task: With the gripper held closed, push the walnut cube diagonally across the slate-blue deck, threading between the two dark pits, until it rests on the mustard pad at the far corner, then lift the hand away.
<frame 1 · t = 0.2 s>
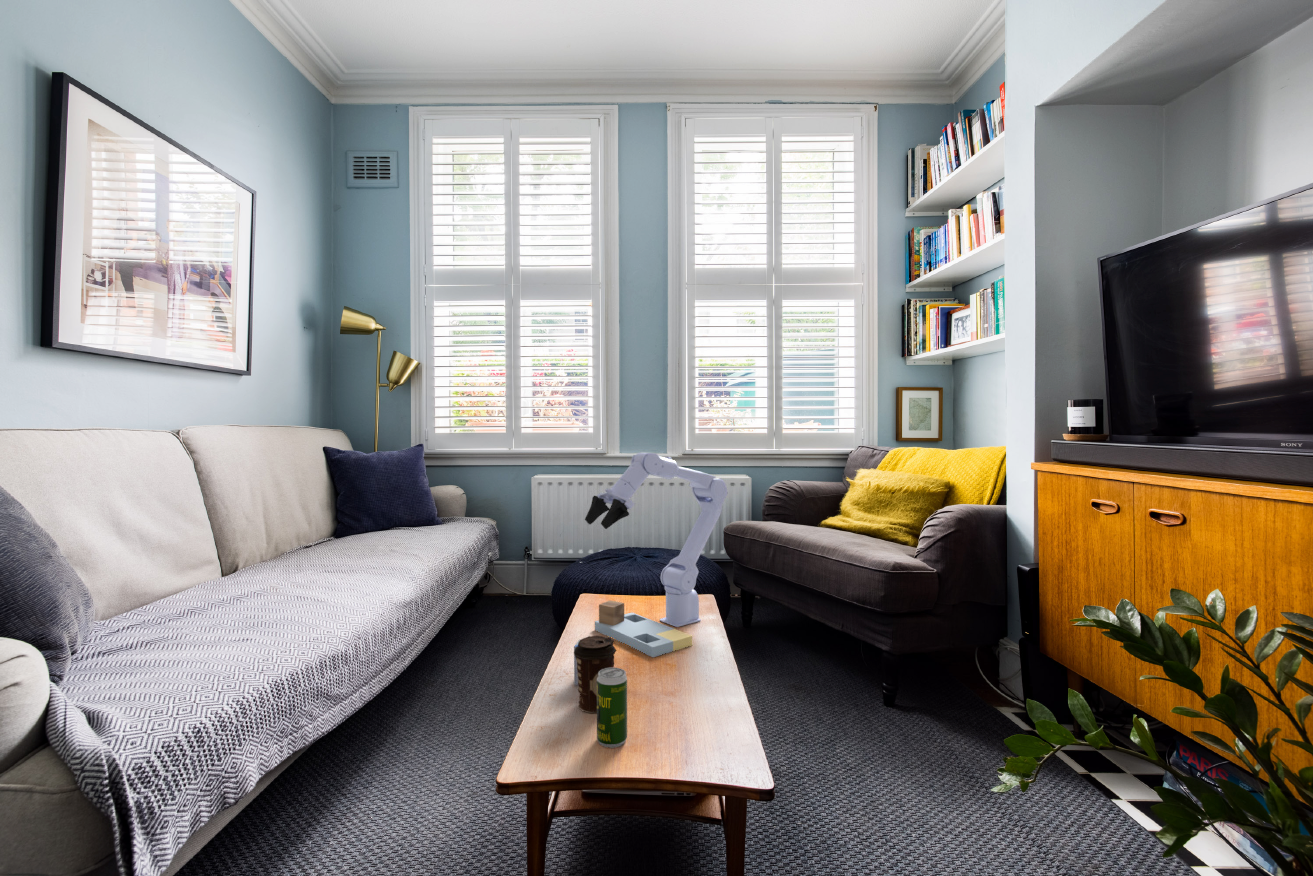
hand: (595, 524, 153), 31 cm above the table, tool tilted 45°, fingers open, 7 cm apart
walnut cube: (611, 621, 162), point 2 cm above the table, touching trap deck
coffee cup: (595, 707, 116), on the table
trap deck: (641, 637, 156), on the table
medicine box: (593, 683, 128), on the table
green drink can: (612, 741, 103), on the table
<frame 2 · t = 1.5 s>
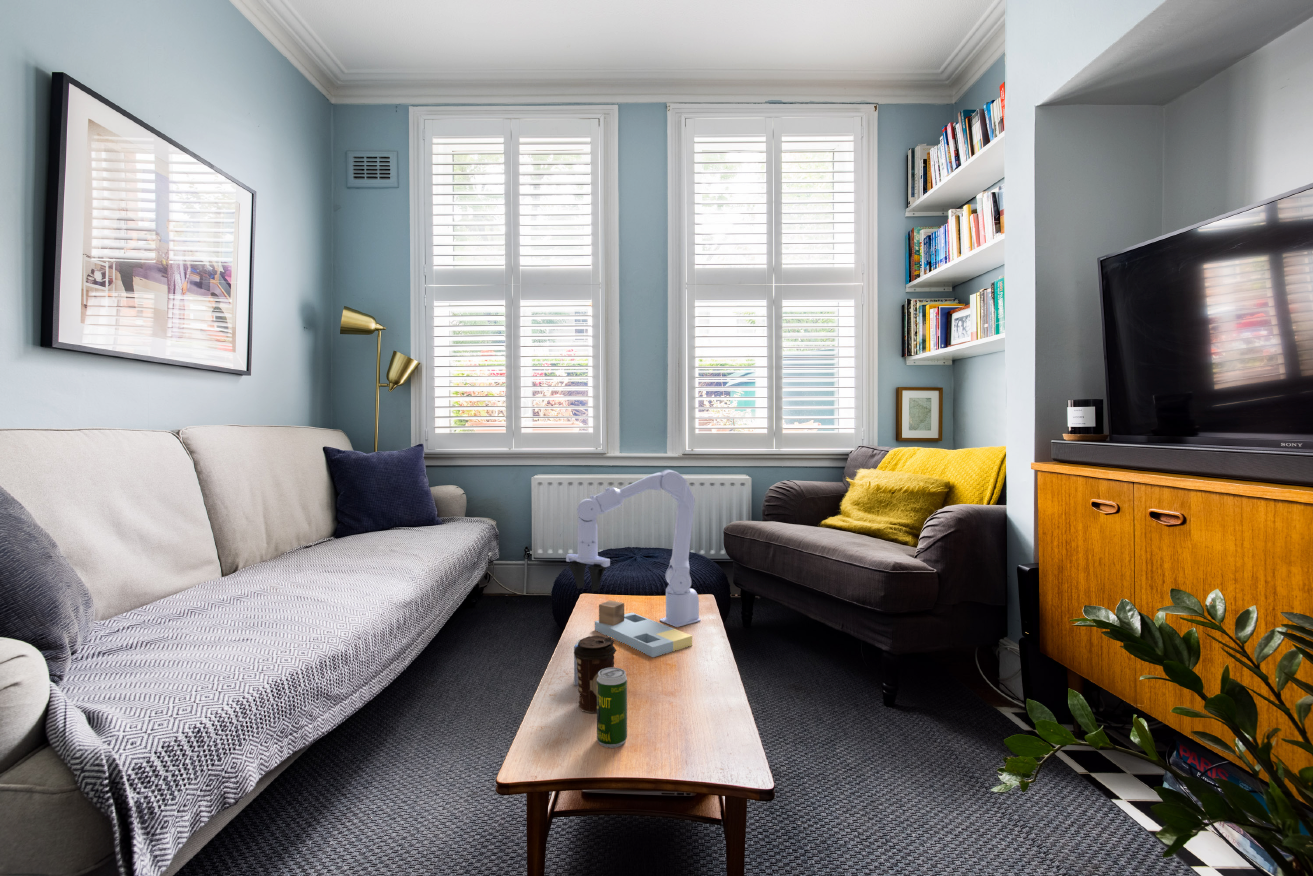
hand: (587, 589, 167), 10 cm above the table, tool pointing down, fingers open, 5 cm apart
nothing on the table moved.
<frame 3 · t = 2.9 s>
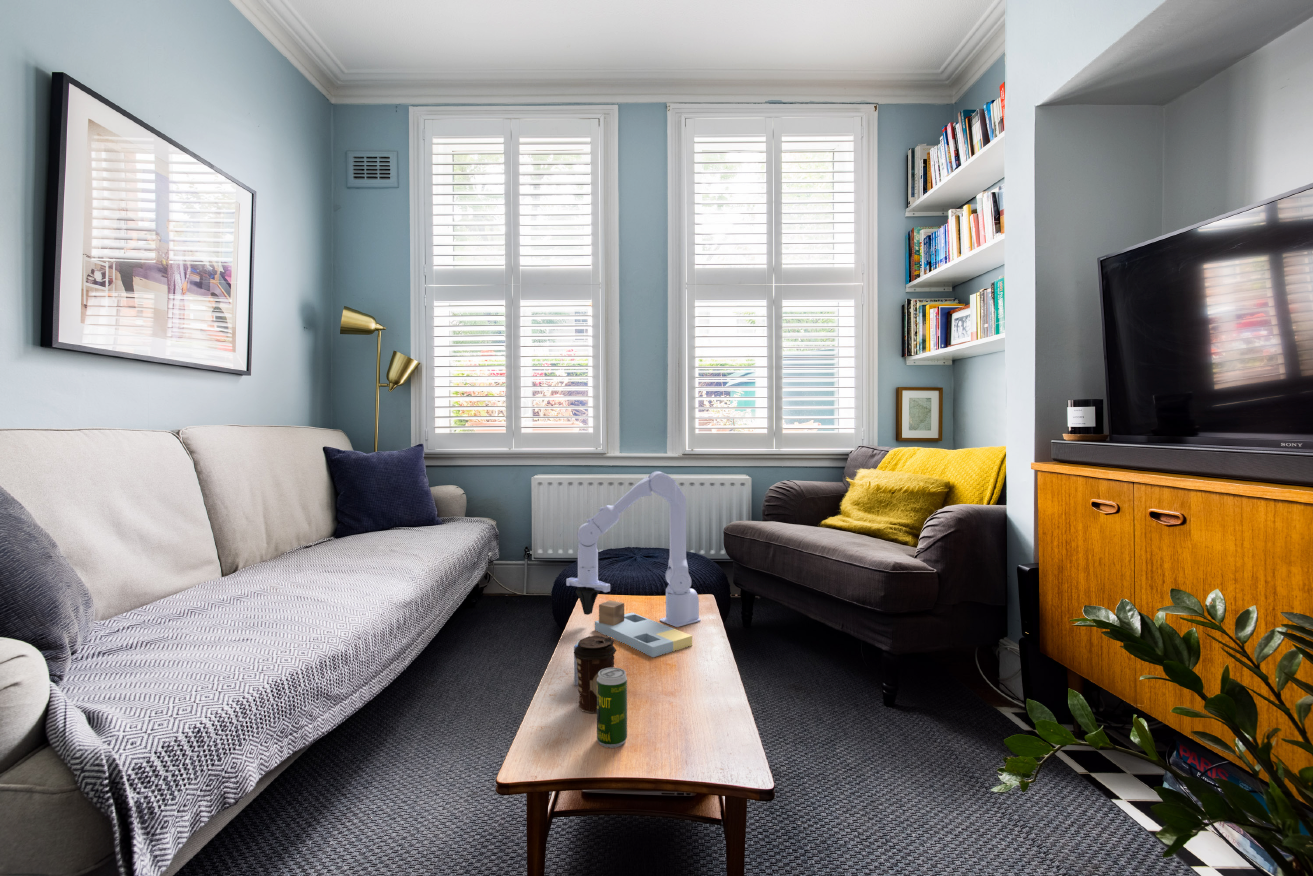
hand: (587, 613, 166), 3 cm above the table, tool pointing down, fingers closed
nothing on the table moved.
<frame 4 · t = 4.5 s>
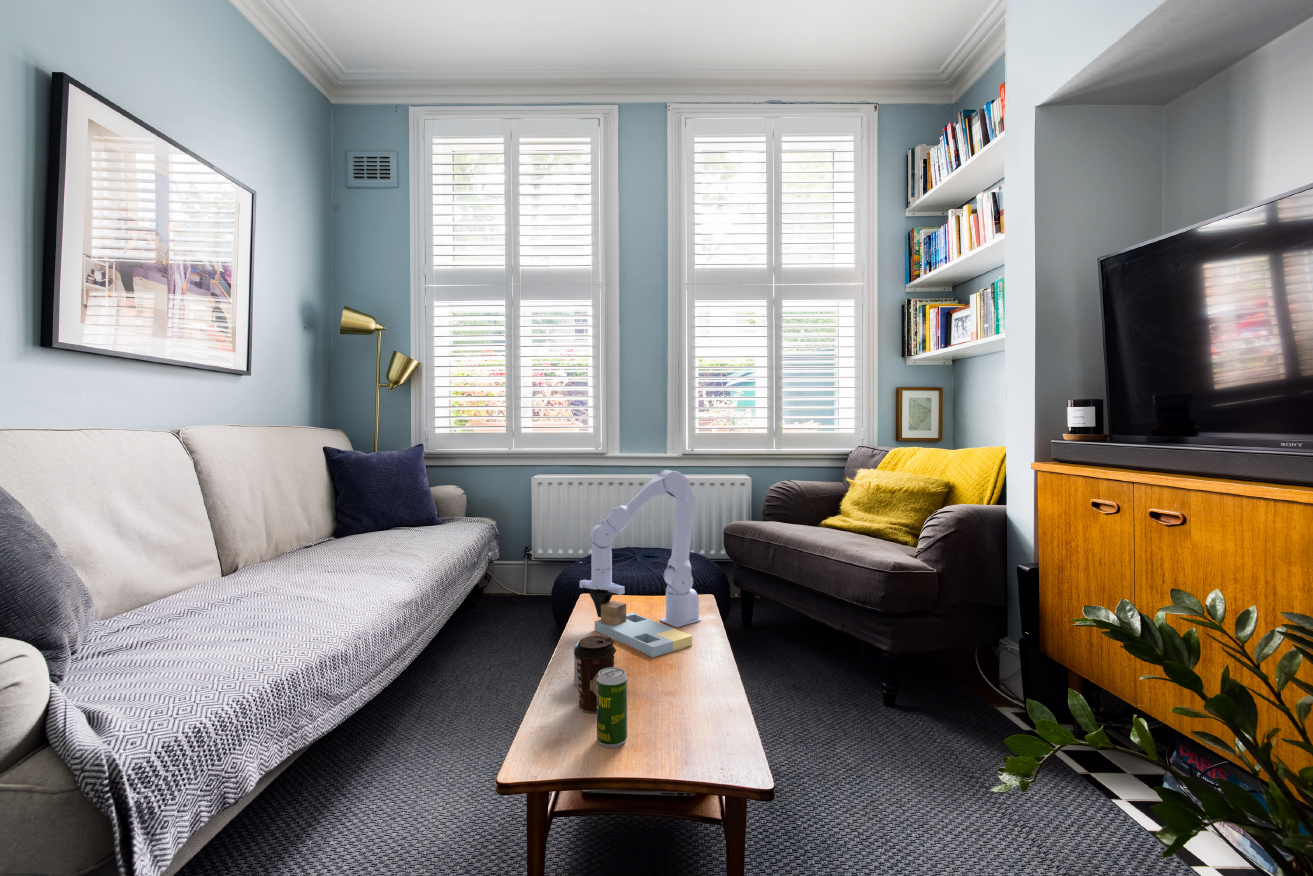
hand: (601, 616, 164), 3 cm above the table, tool pointing down, fingers closed
walnut cube: (613, 622, 162), point 3 cm above the table, touching gripper, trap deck
everything else where it was.
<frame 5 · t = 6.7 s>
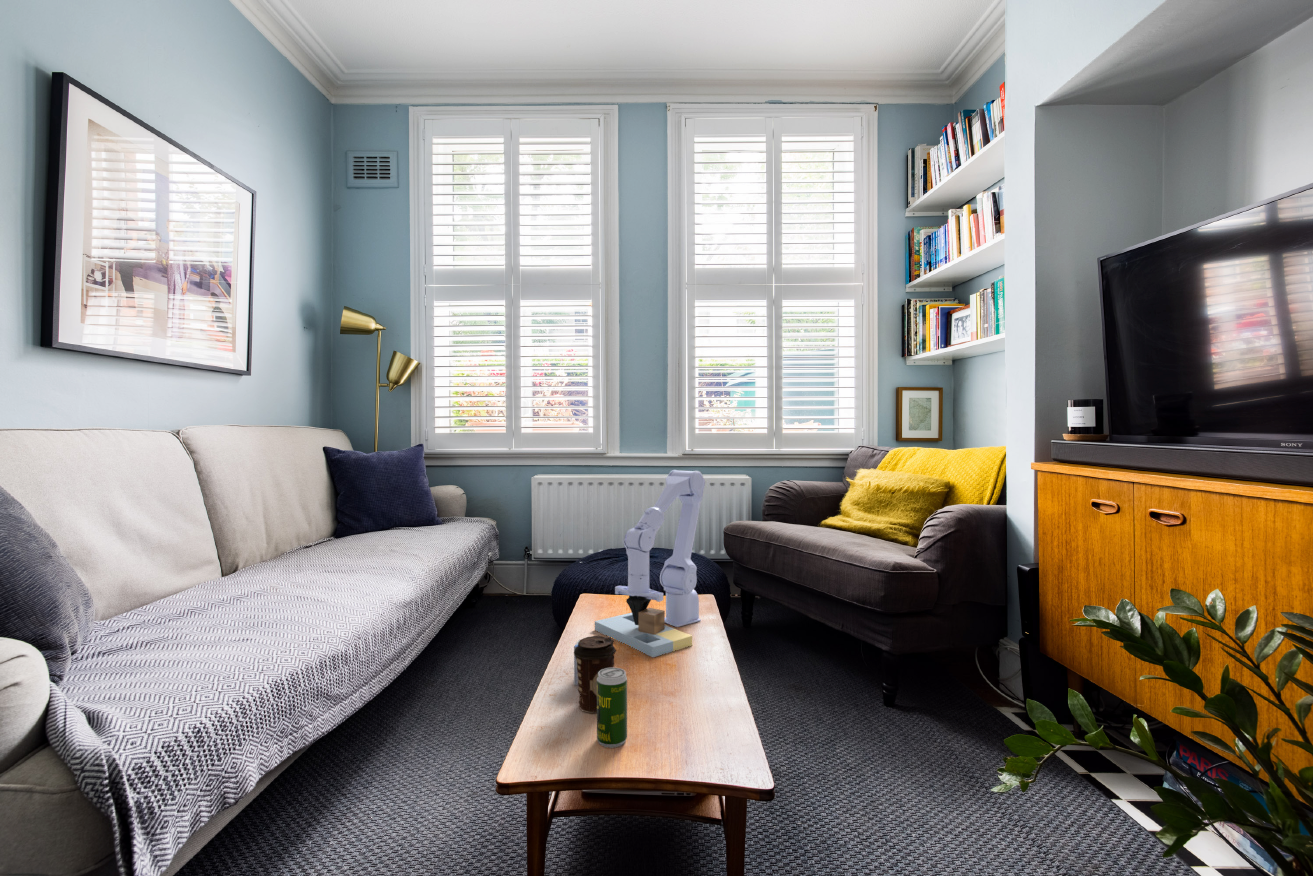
hand: (638, 624, 157), 3 cm above the table, tool pointing down, fingers closed
walnut cube: (651, 630, 155), point 3 cm above the table, touching gripper
everything else where it was.
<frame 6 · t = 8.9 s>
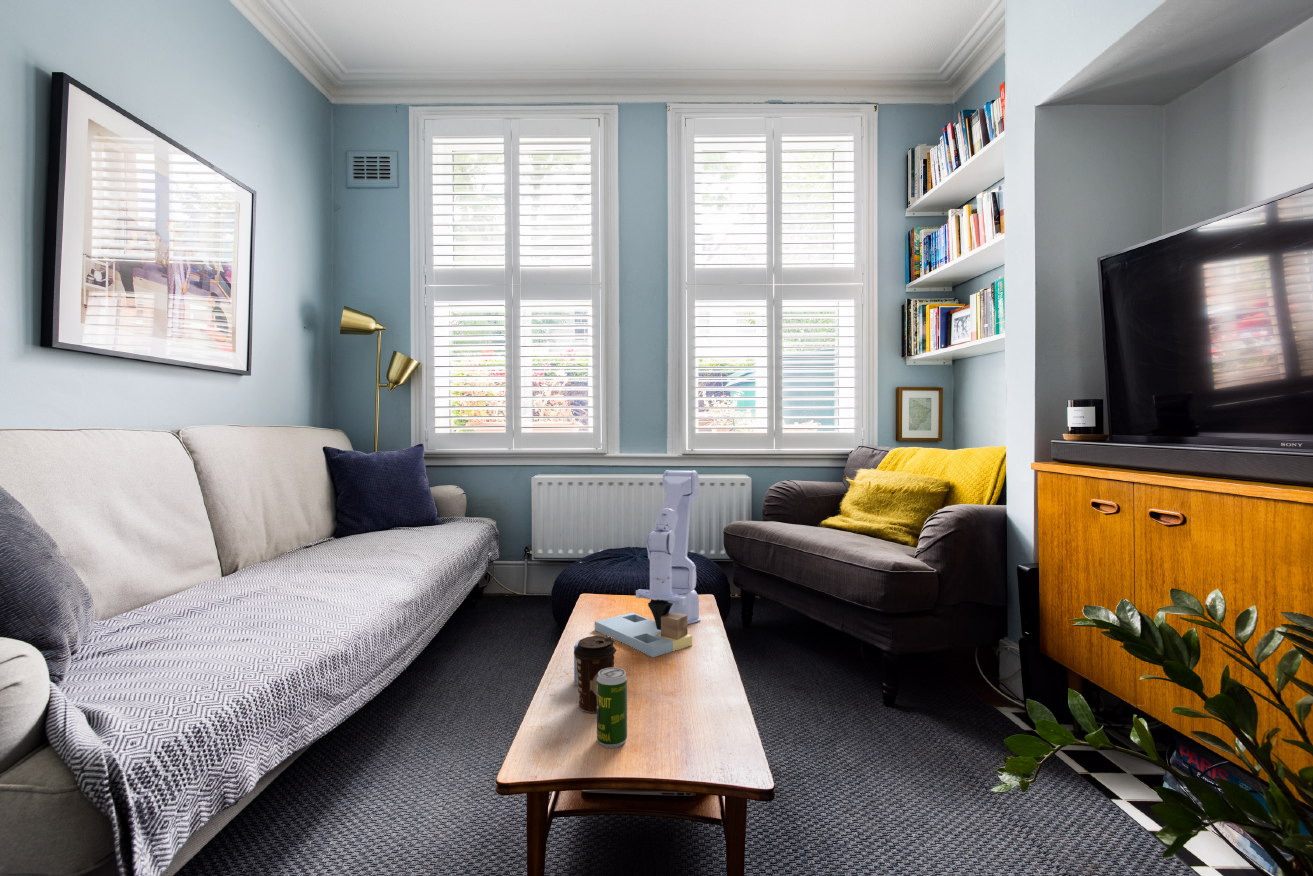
hand: (660, 628, 153), 3 cm above the table, tool pointing down, fingers closed
walnut cube: (674, 635, 151), point 3 cm above the table, touching gripper, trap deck
everything else where it was.
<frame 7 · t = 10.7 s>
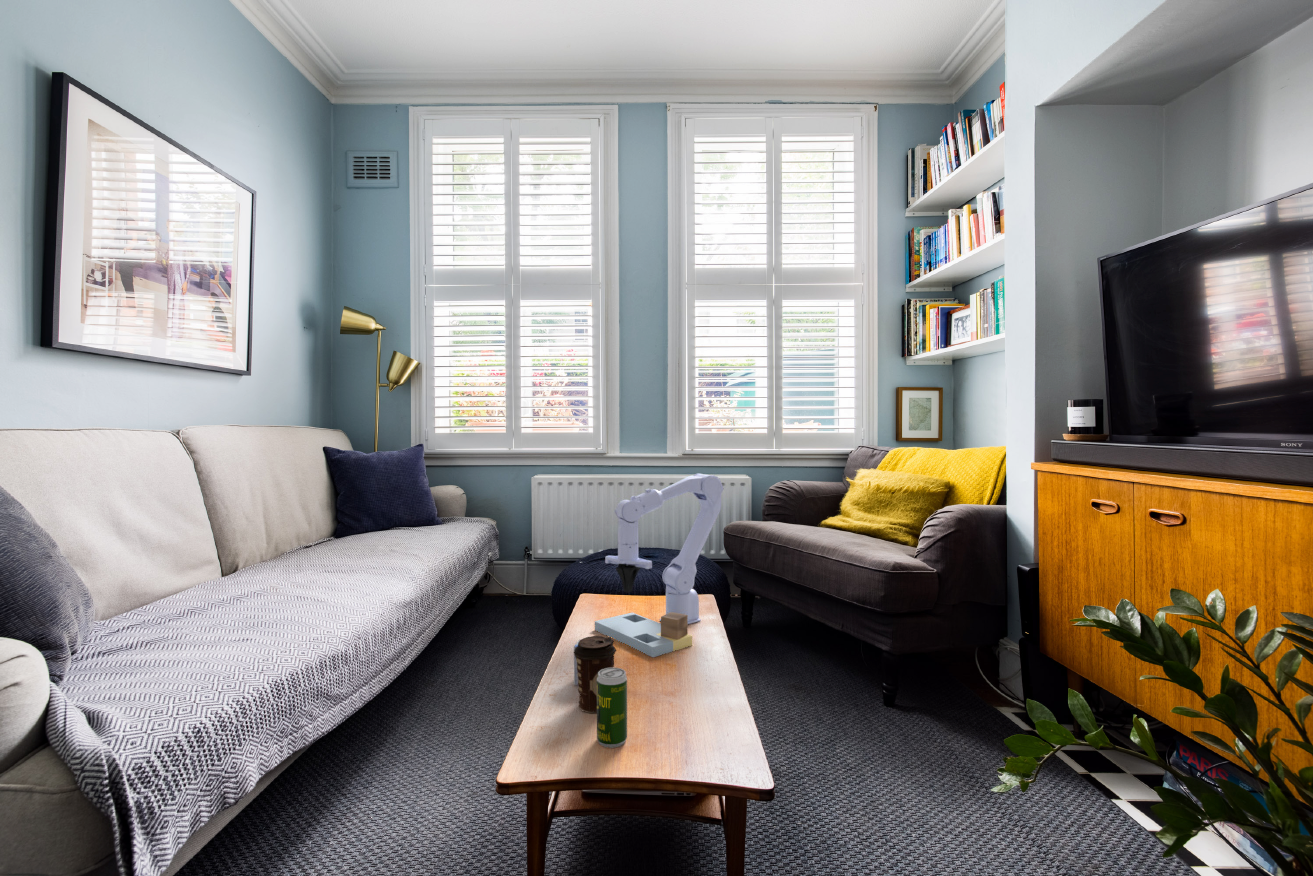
hand: (628, 591, 164), 10 cm above the table, tool pointing down, fingers closed
walnut cube: (674, 635, 151), point 2 cm above the table, touching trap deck
everything else where it was.
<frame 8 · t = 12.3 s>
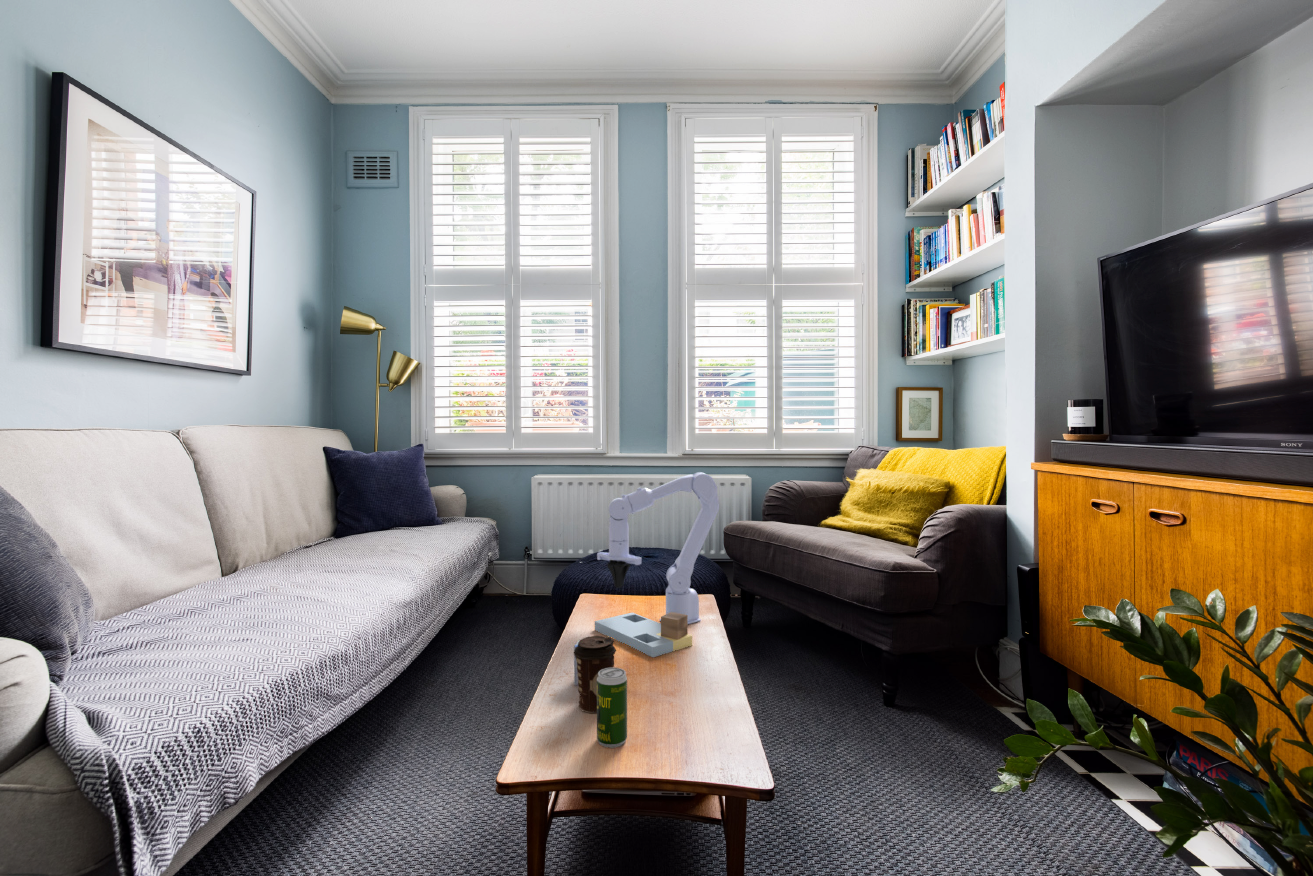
hand: (619, 586, 169), 10 cm above the table, tool pointing down, fingers closed
nothing on the table moved.
at the end: walnut cube inside the target area (0.2 cm from its centre), point 2.5 cm above the table; walnut cube tilted 0°; walnut cube moved 20.3 cm from its start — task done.
